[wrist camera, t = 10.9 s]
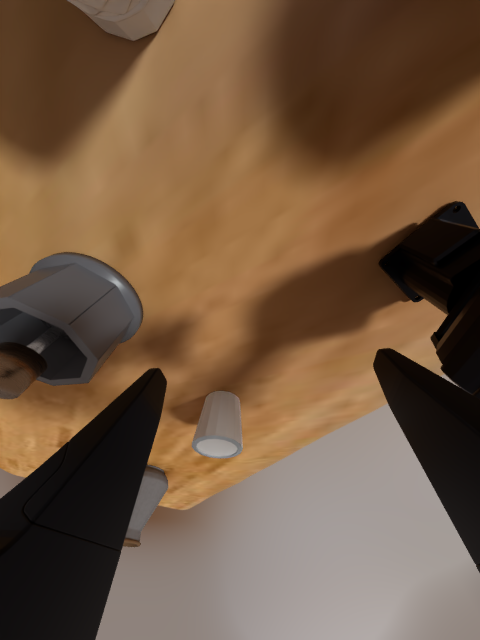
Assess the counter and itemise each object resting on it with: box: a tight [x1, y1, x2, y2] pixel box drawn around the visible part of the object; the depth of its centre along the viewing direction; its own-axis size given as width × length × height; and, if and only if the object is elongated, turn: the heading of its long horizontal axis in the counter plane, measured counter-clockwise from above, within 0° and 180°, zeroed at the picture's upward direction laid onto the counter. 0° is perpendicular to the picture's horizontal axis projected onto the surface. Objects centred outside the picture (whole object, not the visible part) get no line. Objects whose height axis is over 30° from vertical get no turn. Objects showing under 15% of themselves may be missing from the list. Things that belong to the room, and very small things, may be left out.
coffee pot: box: [123, 465, 168, 547], centre depth 49 cm, size 21×12×15 cm, turn 146°
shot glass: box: [192, 391, 243, 458], centre depth 30 cm, size 7×7×7 cm
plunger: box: [0, 319, 73, 399], centre depth 17 cm, size 7×7×8 cm
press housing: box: [0, 252, 143, 386], centre depth 20 cm, size 13×11×8 cm
